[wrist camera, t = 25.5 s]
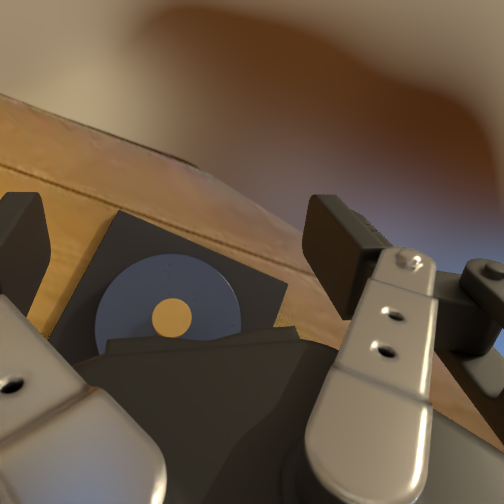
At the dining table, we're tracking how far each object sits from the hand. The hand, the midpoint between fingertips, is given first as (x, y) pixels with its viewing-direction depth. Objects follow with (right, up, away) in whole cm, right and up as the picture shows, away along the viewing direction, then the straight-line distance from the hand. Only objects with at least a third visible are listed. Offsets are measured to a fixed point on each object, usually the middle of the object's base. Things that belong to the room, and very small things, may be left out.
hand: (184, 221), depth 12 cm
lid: (-5, -7, +21) cm, 23 cm away
